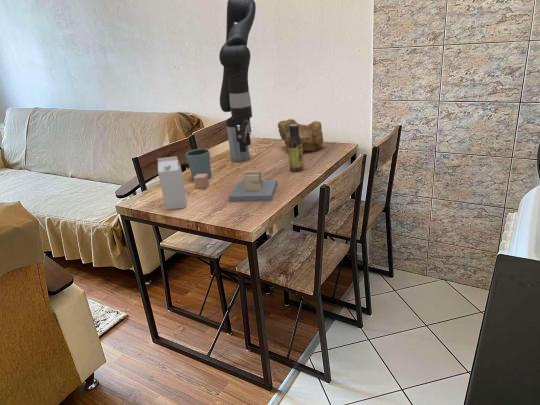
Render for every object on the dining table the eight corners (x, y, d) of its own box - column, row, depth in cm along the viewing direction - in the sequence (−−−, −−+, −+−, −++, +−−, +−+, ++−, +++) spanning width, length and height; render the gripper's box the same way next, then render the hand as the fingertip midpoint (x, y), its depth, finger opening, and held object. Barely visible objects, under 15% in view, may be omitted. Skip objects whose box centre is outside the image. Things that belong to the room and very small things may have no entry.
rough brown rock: (271, 156, 202) (269, 128, 195) (282, 144, 216) (280, 117, 209) (316, 159, 194) (315, 129, 187) (324, 146, 208) (324, 118, 201)
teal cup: (217, 174, 181) (213, 149, 176) (204, 182, 173) (199, 156, 168) (199, 173, 186) (195, 148, 181) (185, 180, 178) (180, 154, 173)
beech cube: (247, 185, 160) (246, 170, 157) (262, 184, 159) (261, 170, 156) (244, 190, 154) (242, 176, 152) (259, 190, 153) (258, 175, 151)
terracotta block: (199, 184, 171) (197, 173, 169) (209, 184, 171) (207, 173, 169) (195, 189, 167) (193, 177, 165) (206, 188, 166) (204, 177, 164)
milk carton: (168, 202, 156) (159, 155, 148) (187, 200, 156) (178, 153, 148) (166, 210, 149) (155, 161, 142) (185, 208, 149) (175, 159, 142)
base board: (239, 185, 166) (238, 181, 165) (277, 184, 163) (277, 180, 162) (229, 201, 151) (228, 196, 151) (271, 200, 148) (270, 195, 148)
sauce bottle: (302, 171, 174) (300, 126, 167) (288, 172, 176) (285, 127, 168) (304, 166, 180) (302, 122, 172) (290, 167, 182) (287, 123, 174)
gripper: (246, 108, 138) (251, 153, 144) (254, 100, 150) (258, 142, 157) (225, 109, 139) (231, 154, 145) (235, 101, 152) (240, 143, 158)
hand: (245, 148), depth 151 cm, fingers open, 8 cm apart
